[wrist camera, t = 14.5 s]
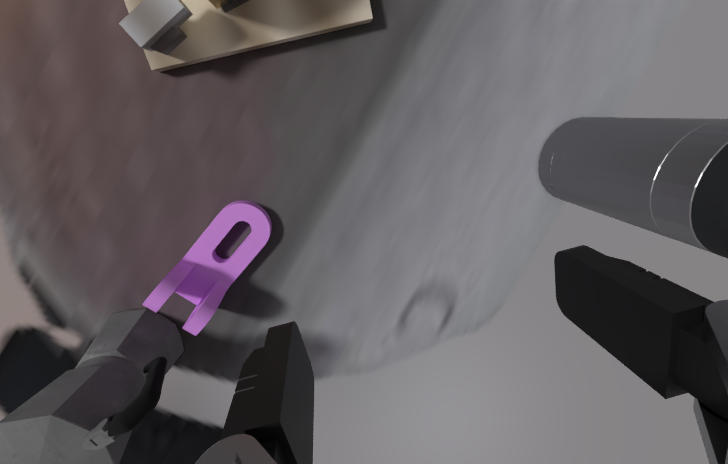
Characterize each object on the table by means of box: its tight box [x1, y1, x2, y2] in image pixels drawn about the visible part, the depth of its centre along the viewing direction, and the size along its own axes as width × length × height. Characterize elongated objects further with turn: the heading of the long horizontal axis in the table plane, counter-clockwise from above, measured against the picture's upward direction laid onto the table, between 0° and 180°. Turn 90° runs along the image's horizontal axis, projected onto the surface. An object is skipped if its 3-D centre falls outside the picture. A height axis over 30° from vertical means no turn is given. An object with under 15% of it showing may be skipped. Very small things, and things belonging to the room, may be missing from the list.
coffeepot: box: [0, 309, 184, 464], centre depth 32 cm, size 15×9×18 cm, turn 118°
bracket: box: [142, 200, 272, 336], centre depth 35 cm, size 13×6×7 cm, turn 138°
